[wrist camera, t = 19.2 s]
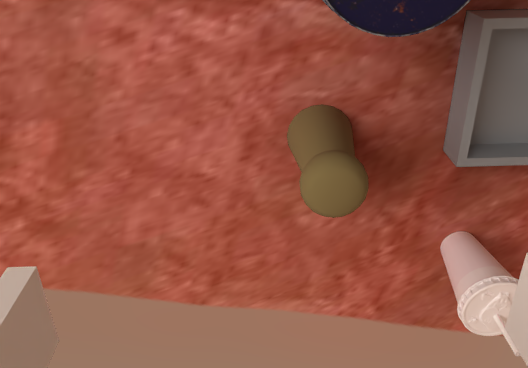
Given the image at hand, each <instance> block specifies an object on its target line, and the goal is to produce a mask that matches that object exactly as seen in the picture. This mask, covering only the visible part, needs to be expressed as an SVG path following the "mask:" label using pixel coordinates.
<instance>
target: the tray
mask: <svg viewBox="0 0 528 368" xmlns="http://www.w3.org/2000/svg"><path fill="white" fill-rule="evenodd" d="M443 151H444V152H445V153H446V154H447V156H448V157H449V158H450V159H451V161H452V162H453V163H454V165H455V166H456V167H472V166H508V165H528V9H505V10H467V11H466V17H465V23H464V29H463V35H462V41H461V47H460V53H459V59H458V65H457V71H456V77H455V82H454V88H453V94H452V100H451V106H450V112H449V118H448V124H447V130H446V136H445V142H444V148H443Z"/></svg>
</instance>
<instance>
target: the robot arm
mask: <svg viewBox="0 0 528 368" xmlns="http://www.w3.org/2000/svg"><path fill="white" fill-rule="evenodd" d="M505 330H506V331H507V333H508V335H509V336H510V338H511V340H512V341H513V343H514V345H515V346H516V348H517V350H518V351H519V353H520V355H521V356H522V358H523V359H524V361H525V363H526V365H527V366H528V253H526V257H525V260H524V264H523V267H522V270H521V274H520V277H519V281H518V284H517V288H516V291H515V295H514V298H513V301H512V305H511V308H510V312H509V315H508V319H507V322H506V326H505ZM58 343H59V339H58V335H57V332H56V329H55V325H54V322H53V319H52V316H51V313H50V309H49V306H48V303H47V299H46V296H45V293H44V290H43V286H42V283H41V280H40V277H39V273H38V270H37V267H8V268H7V269H6V270H5V272H4V273H3V275H2V276H1V278H0V368H47V367H48V365H49V363H50V360H51V358H52V356H53V354H54V352H55V349H56V347H57V345H58Z"/></svg>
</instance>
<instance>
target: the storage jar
mask: <svg viewBox="0 0 528 368" xmlns="http://www.w3.org/2000/svg"><path fill="white" fill-rule="evenodd" d="M323 1H324V3H325V4H326V5H327V6H328V7H329V8H330V9H331V10H332V11H334V12H335V13H336V14H338V16H339V17H341V18H342V19H343V20H345V21H346V22H347V23H349V24H350V25H352V26H354V27H356V28H358V29H360V30H362V31H364V32H367V33H370V34H374V35H378V36H386V37H401V36H408V35H413V34H418V33H421V32H424V31H427V30H429V29H432V28H434V27H436V26H438V25H440V24H441V23H443V22H445V21H447V20H448V19H449V18H451V17H452V16H454V15H455V14H456V13H458V12H459V11H460V10H461V9H462V8H463V7H464V6H465V5H466V4H467V3H468V2H469V1H470V0H323Z"/></svg>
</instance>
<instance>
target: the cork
mask: <svg viewBox="0 0 528 368" xmlns="http://www.w3.org/2000/svg"><path fill="white" fill-rule="evenodd" d="M287 139H288V145H289V147H290V149H291V151H292V153H293V155H294V157H295V160H296V162H297V164H298V166H299V168H300V170H301V172H302V173H301V177H300V181H299V182H300V191H301V196H302V198H303V200H304V202H305V203H306V205H307V206H308V207H309V208H310V209H311V210H312V211H314V212H315V213H317V214H320V215H322V216H326V217H333V218H334V217H342V216H345V215H347V214H350V213H352V212H353V211H354V210H356V209H357V208H358V207H359V206H360V205H361V204H362V202H363V201H364V200H365V198H366V195H367V192H368V176H367V173H366V171H365V168H364V166H363V164H362V163H361V162H360V161H359V160H358V159H357V158H356V157H355V152H354V143H353V134H352V126H351V124H350V122H349V119H348V118H347V116H346V115H345V114H344V113H343V112H342V111H340V110H339V109H337V108H335V107H333V106H328V105H315V106H311V107H308V108H306V109H304V110H302V111H301V112H300V113H299V114H297V115H296V116H295V117H294V119H293V120H292V122H291V124H290V125H289V129H288V133H287Z"/></svg>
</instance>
